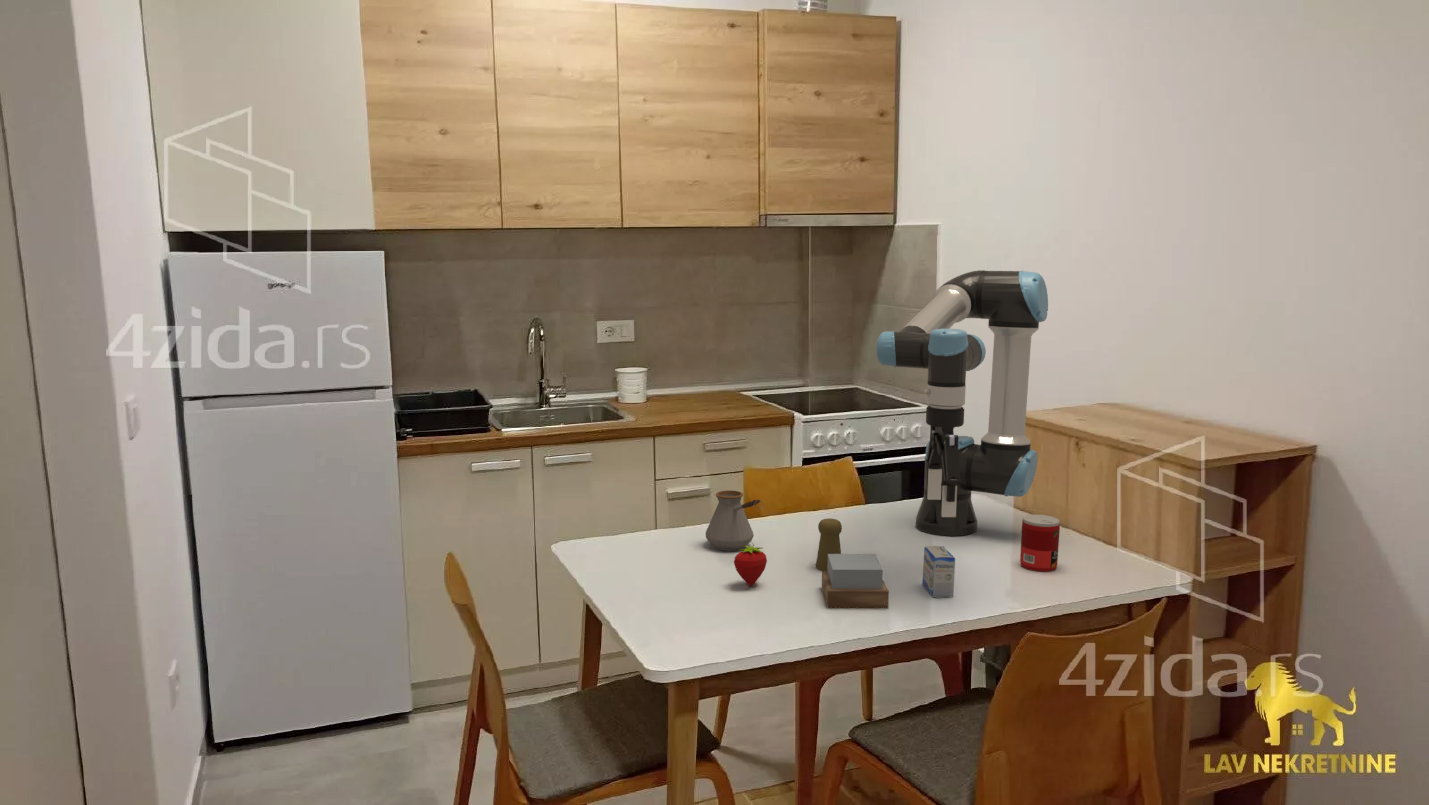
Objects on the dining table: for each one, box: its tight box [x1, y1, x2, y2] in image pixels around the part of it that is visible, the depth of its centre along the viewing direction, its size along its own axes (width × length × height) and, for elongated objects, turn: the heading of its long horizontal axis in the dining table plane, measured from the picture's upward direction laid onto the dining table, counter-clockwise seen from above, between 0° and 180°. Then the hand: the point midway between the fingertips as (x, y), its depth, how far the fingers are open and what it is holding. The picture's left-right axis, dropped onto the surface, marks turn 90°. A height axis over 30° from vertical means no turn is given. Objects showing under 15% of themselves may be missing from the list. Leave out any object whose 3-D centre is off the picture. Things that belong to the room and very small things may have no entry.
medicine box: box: [921, 545, 956, 598], centre depth 212 cm, size 8×4×9 cm, turn 5°
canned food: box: [1019, 514, 1061, 573], centre depth 228 cm, size 8×8×11 cm
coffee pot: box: [705, 490, 765, 552], centre depth 237 cm, size 21×12×15 cm, turn 25°
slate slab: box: [827, 553, 884, 589], centre depth 208 cm, size 10×10×4 cm
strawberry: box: [733, 540, 768, 587], centre depth 215 cm, size 6×8×10 cm
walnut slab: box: [821, 571, 890, 609], centre depth 209 cm, size 12×12×4 cm
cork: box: [815, 518, 843, 572], centre depth 227 cm, size 6×6×11 cm
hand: (941, 507), depth 210 cm, fingers open, 13 cm apart
